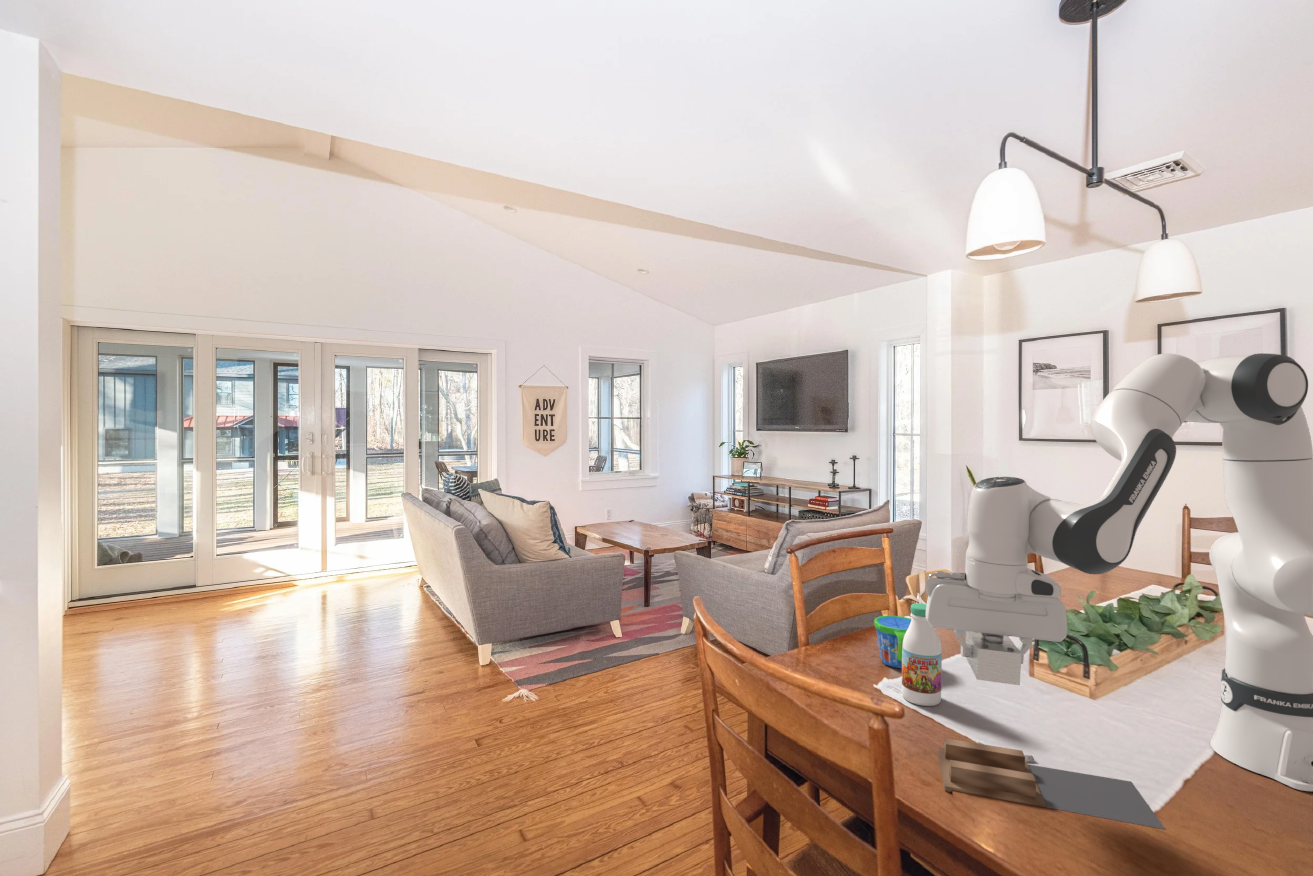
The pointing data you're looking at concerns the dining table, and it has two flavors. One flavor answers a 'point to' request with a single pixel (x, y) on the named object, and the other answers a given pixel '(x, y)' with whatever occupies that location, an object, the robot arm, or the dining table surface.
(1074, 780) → the bench mat
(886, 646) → the snack cup
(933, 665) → the milk bottle
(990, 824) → the dining table surface
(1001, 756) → the stand
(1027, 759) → the pin
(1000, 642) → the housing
